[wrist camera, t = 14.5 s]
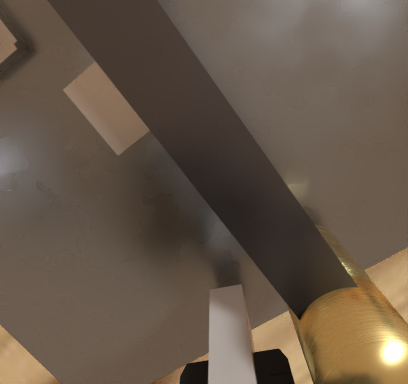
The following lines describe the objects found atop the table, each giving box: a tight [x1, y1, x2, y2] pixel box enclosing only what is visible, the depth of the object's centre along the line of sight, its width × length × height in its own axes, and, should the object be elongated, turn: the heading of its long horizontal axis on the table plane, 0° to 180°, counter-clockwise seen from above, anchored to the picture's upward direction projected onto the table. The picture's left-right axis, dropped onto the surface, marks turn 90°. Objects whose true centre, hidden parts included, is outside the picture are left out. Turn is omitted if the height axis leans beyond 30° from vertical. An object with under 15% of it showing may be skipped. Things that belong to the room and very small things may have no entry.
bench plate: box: [0, 0, 408, 384], centre depth 13 cm, size 24×26×6 cm
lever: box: [47, 0, 408, 384], centre depth 9 cm, size 5×19×7 cm, turn 37°
